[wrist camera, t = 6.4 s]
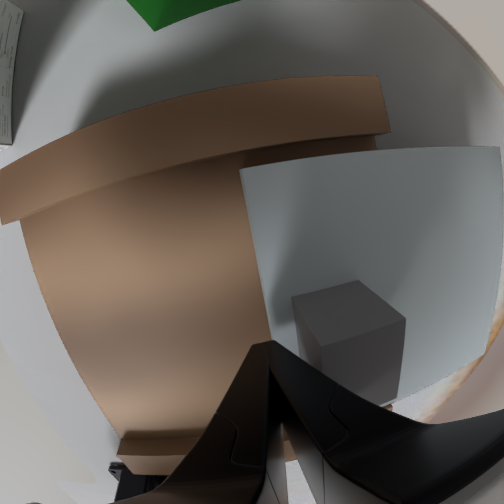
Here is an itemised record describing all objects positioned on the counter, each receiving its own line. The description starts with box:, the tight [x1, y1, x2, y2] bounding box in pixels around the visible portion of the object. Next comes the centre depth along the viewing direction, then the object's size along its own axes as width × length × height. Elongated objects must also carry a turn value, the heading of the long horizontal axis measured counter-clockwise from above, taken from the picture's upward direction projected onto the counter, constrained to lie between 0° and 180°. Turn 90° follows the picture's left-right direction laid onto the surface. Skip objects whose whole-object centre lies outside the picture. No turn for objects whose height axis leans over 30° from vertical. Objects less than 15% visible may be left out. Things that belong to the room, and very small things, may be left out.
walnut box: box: [0, 75, 393, 475], centre depth 12 cm, size 16×14×5 cm
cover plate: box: [239, 146, 504, 407], centre depth 9 cm, size 11×12×4 cm
